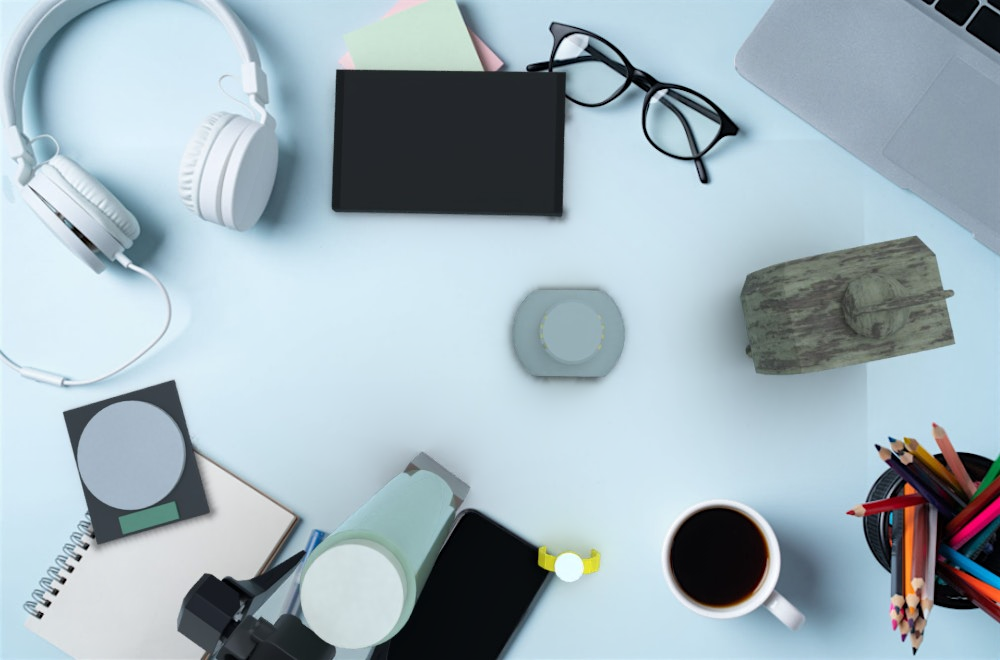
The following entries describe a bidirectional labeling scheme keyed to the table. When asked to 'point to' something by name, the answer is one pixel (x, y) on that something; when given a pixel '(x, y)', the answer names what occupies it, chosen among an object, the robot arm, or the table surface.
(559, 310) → the air freshener
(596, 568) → the watch
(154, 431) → the scale
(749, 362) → the table surface
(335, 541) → the canister
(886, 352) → the toy tank
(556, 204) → the external hard drive
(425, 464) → the block
